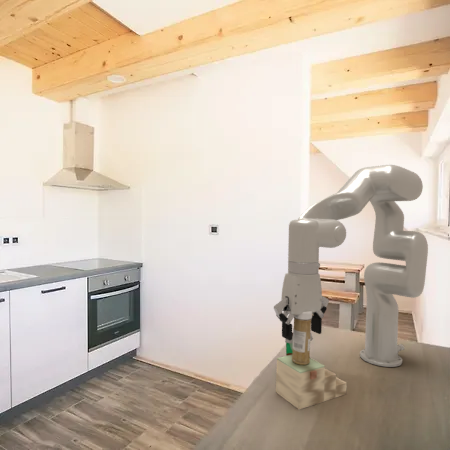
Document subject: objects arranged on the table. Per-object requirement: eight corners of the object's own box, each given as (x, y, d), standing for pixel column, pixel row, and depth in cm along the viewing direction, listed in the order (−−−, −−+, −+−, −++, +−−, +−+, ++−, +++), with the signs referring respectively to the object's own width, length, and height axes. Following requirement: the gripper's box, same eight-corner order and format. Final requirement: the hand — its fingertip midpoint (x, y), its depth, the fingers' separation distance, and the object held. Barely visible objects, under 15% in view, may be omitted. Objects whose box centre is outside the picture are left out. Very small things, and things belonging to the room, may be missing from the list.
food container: (304, 373, 99) (305, 339, 99) (284, 368, 103) (285, 335, 102) (316, 359, 110) (317, 328, 110) (298, 354, 113) (299, 325, 113)
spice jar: (313, 363, 85) (316, 310, 85) (300, 367, 83) (303, 313, 82) (300, 356, 89) (302, 305, 88) (287, 359, 87) (289, 308, 86)
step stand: (320, 379, 96) (321, 347, 96) (347, 394, 88) (348, 360, 88) (275, 392, 88) (276, 358, 88) (300, 410, 80) (301, 373, 80)
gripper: (317, 264, 93) (316, 325, 94) (266, 268, 85) (265, 336, 85) (338, 268, 87) (337, 334, 87) (285, 273, 78) (284, 346, 79)
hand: (301, 335), depth 86 cm, fingers open, 9 cm apart
